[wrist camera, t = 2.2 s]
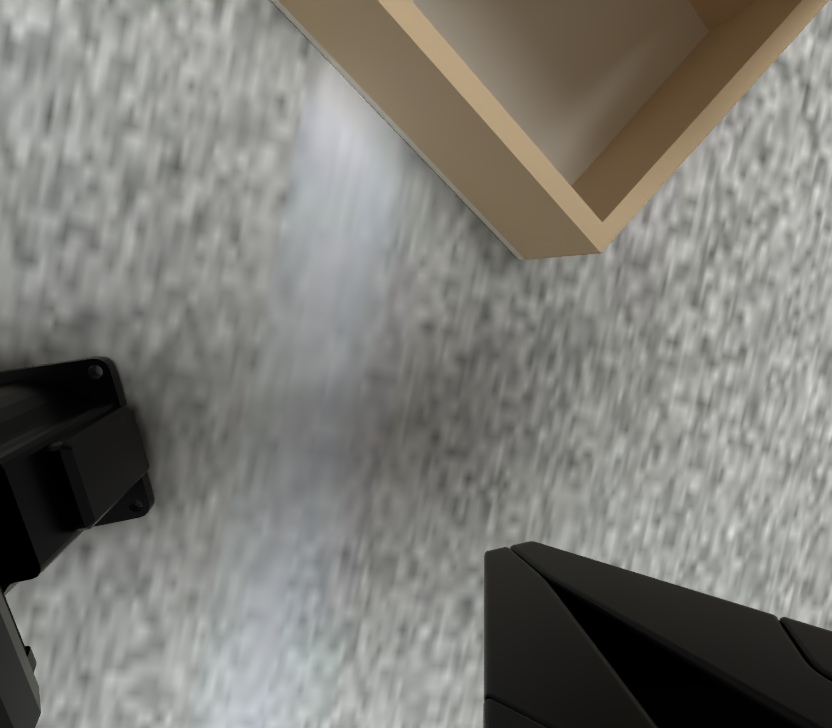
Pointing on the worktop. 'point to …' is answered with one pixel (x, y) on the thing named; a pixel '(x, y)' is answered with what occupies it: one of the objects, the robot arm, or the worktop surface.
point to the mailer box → (552, 96)
